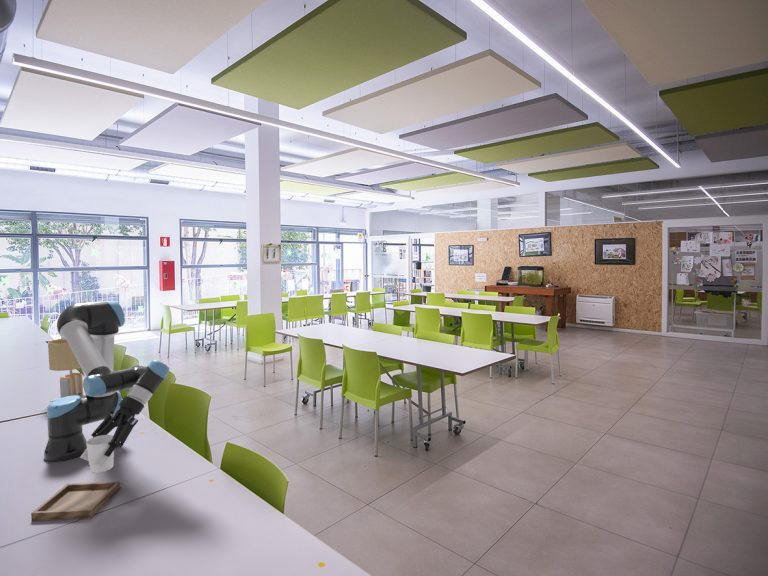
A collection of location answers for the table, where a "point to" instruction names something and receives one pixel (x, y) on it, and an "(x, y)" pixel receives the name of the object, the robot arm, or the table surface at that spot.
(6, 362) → the table surface
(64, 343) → the desk lamp
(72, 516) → the walnut tray
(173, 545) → the table surface
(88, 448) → the white cup
